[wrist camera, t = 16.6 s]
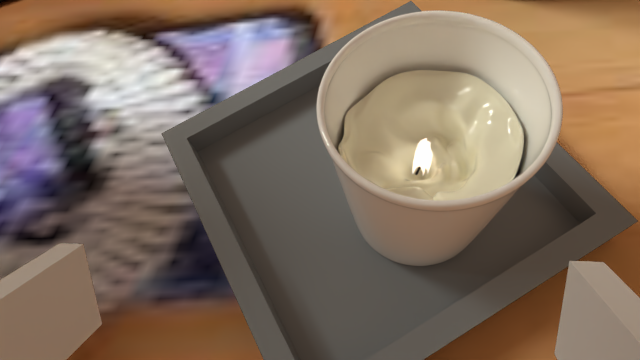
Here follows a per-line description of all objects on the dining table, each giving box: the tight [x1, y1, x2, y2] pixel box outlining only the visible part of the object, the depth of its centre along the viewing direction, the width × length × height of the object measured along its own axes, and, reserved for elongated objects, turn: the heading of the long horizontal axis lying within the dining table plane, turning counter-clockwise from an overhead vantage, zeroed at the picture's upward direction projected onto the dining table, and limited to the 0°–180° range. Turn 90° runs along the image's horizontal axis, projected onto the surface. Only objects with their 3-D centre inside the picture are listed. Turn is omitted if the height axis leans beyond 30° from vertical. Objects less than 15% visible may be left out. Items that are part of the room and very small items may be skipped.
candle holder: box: [316, 11, 563, 266], centre depth 22 cm, size 10×10×12 cm
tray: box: [162, 1, 638, 360], centre depth 29 cm, size 22×22×3 cm
